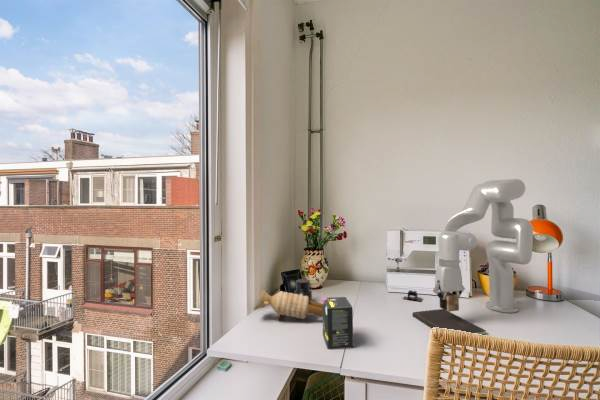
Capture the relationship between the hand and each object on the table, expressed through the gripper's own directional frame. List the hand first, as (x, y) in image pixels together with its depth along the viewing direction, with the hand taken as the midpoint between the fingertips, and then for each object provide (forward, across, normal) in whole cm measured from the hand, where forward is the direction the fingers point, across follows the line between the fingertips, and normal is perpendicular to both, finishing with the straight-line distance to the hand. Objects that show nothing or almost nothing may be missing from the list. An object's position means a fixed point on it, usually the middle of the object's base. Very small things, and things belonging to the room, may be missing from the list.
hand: (449, 307), depth 121 cm
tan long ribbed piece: (+8, +60, -22) cm, 65 cm away
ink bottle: (+8, +52, -39) cm, 65 cm away
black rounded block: (+8, -5, -31) cm, 32 cm away
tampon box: (+8, +50, +1) cm, 50 cm away
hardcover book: (+8, +2, 0) cm, 8 cm away
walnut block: (+1, 0, 0) cm, 1 cm away
